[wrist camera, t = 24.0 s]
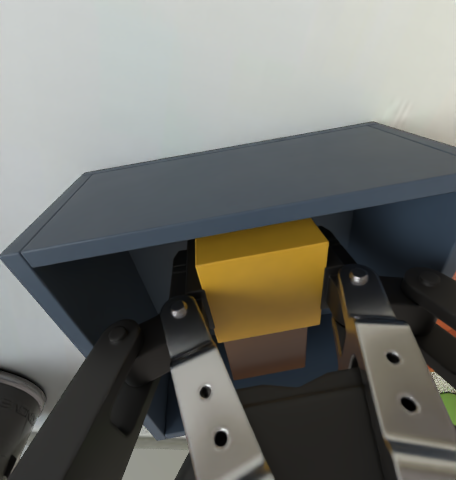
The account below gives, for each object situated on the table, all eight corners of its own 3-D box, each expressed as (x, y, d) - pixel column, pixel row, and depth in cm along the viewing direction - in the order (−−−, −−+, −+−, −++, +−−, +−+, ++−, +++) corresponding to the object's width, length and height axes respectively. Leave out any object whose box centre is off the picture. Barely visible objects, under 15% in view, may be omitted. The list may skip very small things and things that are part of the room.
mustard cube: (194, 204, 12) (195, 266, 8) (288, 187, 12) (329, 241, 8) (212, 273, 14) (217, 343, 11) (288, 259, 14) (320, 325, 11)
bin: (166, 342, 20) (156, 441, 15) (83, 172, 12) (-4, 256, 7) (340, 310, 20) (391, 396, 15) (374, 121, 12) (512, 163, 7)
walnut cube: (215, 277, 16) (222, 338, 13) (283, 265, 16) (308, 322, 13) (226, 320, 19) (233, 381, 15) (284, 309, 19) (305, 367, 15)
